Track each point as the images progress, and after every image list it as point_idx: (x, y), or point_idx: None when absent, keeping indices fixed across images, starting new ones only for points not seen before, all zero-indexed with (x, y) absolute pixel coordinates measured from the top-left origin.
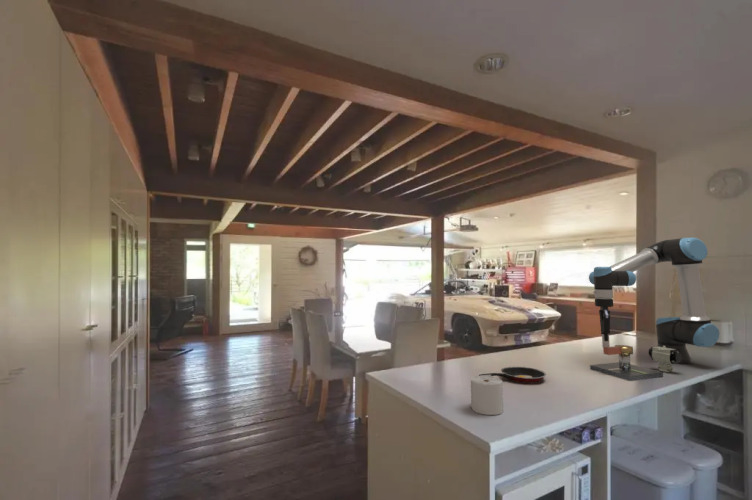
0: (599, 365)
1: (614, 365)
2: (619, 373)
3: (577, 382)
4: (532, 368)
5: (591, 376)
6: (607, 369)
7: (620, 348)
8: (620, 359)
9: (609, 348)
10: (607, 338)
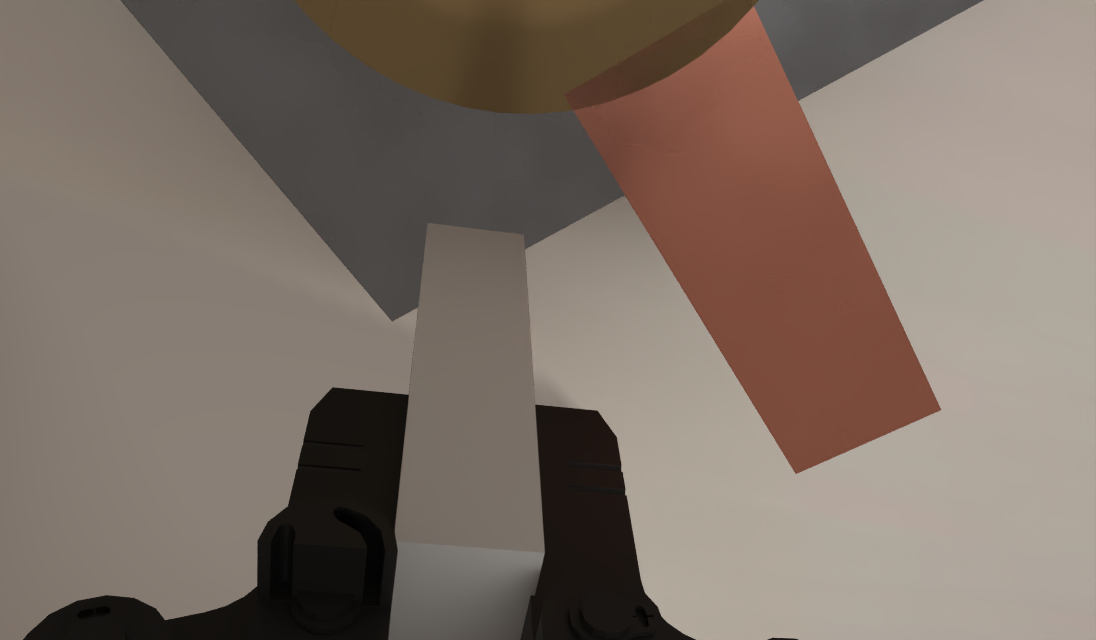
0: (372, 184)
1: None
2: (923, 32)
3: (1081, 544)
4: None
5: None
6: None
7: (756, 20)
8: None
9: (923, 377)
10: (619, 496)
